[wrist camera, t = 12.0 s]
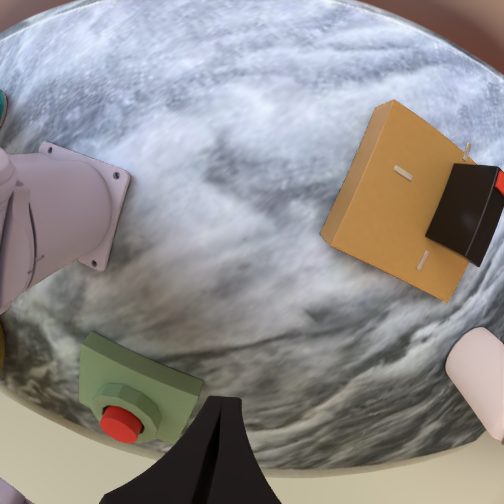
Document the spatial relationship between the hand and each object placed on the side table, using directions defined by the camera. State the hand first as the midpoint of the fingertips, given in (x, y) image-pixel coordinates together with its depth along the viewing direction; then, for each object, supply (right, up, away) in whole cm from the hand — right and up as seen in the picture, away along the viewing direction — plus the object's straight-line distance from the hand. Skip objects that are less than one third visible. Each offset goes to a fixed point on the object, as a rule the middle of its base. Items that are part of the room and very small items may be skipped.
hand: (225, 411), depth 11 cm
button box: (-10, -6, +13) cm, 17 cm away
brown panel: (+13, +10, +8) cm, 18 cm away
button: (-10, -8, +10) cm, 16 cm away
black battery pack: (+14, +10, +4) cm, 18 cm away
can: (+24, -4, +12) cm, 27 cm away
